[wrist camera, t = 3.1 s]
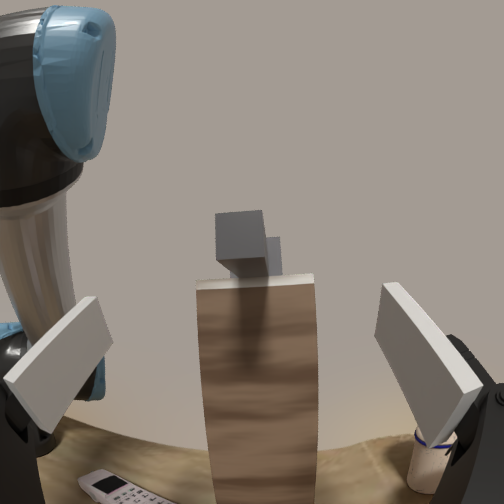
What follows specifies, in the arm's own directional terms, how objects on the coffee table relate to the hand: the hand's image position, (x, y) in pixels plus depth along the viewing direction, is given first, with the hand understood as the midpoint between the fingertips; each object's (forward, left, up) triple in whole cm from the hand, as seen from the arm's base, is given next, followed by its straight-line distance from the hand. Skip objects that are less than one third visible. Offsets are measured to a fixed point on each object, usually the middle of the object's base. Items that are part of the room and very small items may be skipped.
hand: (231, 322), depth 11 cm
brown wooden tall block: (-10, +18, -26) cm, 34 cm away
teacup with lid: (+12, +26, -27) cm, 39 cm away
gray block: (-8, +13, +4) cm, 16 cm away
